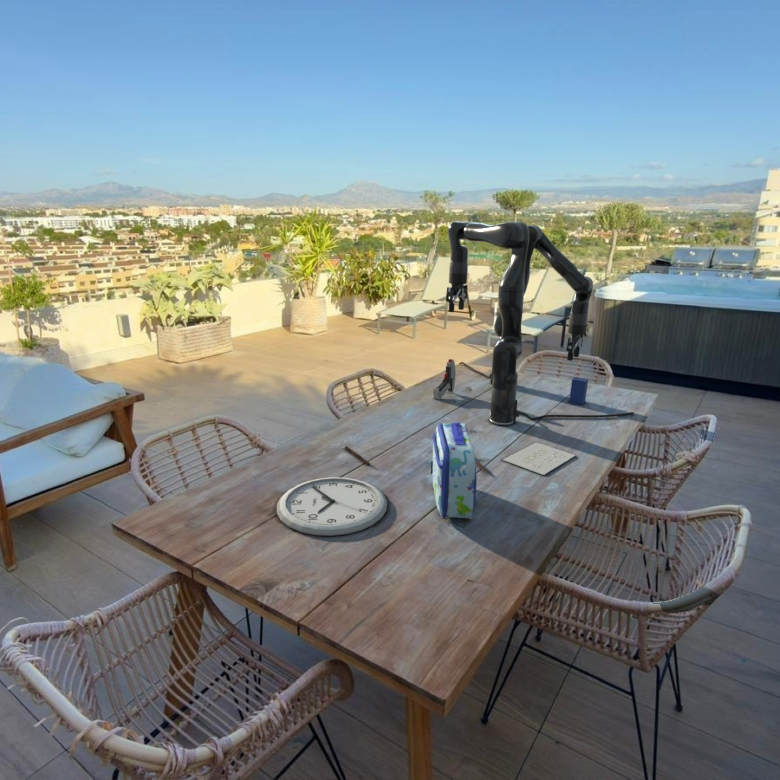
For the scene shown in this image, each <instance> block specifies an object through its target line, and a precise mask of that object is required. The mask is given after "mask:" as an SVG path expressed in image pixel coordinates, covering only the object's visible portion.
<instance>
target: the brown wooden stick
mask: <svg viewBox="0 0 780 780" xmlns="http://www.w3.org/2000/svg"><path fill="white" fill-rule="evenodd" d="M344 449H345V450H346V451H348V452H349V453H350V454H352V455H353V456H355V457H356V458H358V459H359V460H361V461H362V462H363V463H364V464H366V465H370V461H368V460H367V459H366V458H364V457H363V456H361V455H360V454H358V453H357V452H356V451H354V450H353V449H352V448H350V447H348V446H347V445H345V446H344Z"/></svg>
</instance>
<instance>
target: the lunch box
mask: <svg viewBox="0 0 780 780" xmlns="http://www.w3.org/2000/svg"><path fill="white" fill-rule="evenodd" d="M467 427H468V426H467V424H466V423H461V422H450V423H441V422H439V423H437V424H436V428H435V433H433V435H432V460H431V461H430V465H431V466H430V474H431V475H432V488H433V492H434V501H435V505H436V508H437V511H438V513H439V515H440V517H441V518H442V519H445V520H446V518H458V519H469V520H470V519H472V518H473V517H474V515H475V511H476V501H477V479H478V477H477V476H478V475H477V464H476V461H477V460H476V456H475V449H474V446H473V445H474V444H473V442H472V440H471V438H470V435H469V431H468V428H467ZM475 460H476V461H475Z"/></svg>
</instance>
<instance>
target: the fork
mask: <svg viewBox="0 0 780 780" xmlns="http://www.w3.org/2000/svg"><path fill="white" fill-rule="evenodd" d="M475 461H476V466H477V467H479V468H480V469H481V470H482V471H483V472H485V473H486V474H488V470H486V468H485V467H484V466H483V464H482V463H480V462H479V461H477V460H476V459H475Z"/></svg>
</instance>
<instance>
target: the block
mask: <svg viewBox="0 0 780 780" xmlns="http://www.w3.org/2000/svg"><path fill="white" fill-rule="evenodd" d="M588 385H589V379H588V378H582V377H576V376H574V377H572V379H571V385H570V391H569V392H570V394H569V400H568V403H569V404H570V403H571V404H575V405H579V406H583V405H585V403H586V400H587V399H586V398H587V391H588Z"/></svg>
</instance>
